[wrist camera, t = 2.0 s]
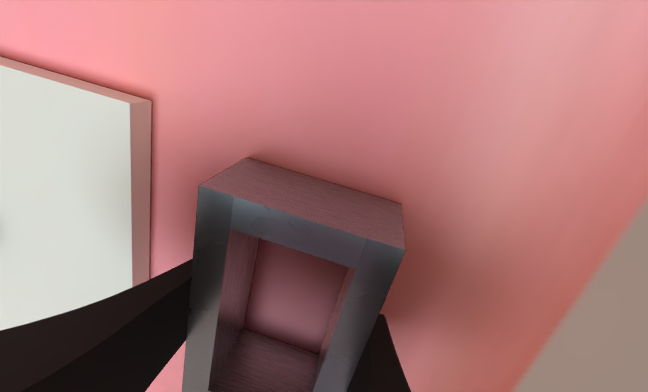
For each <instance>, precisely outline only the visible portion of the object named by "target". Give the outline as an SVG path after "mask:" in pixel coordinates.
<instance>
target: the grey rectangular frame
mask: <svg viewBox="0 0 648 392" xmlns="http://www.w3.org/2000/svg"><path fill="white" fill-rule="evenodd" d="M259 239H263V240H266V241H269V242H272V243H276V244H279V245H282V246H285V247H288V248H291V249H294V250H297V251H300V252H303V253H306V254H310V255H313V256H316V257H319V258H322V259H325V260H328V261H331V262H334V263H337V264H340V265H344V266H347V267H348V269H347V272H346V275H345V278H344V281H343V284H342V287H341V290H340V293H339V296H338V299H337V302H336V305H335V308H334V311H333V314H332V317H331V320H330V323H329V326H328V329H327V331H326V334H325V337H324V340H323V343H322V346H321V349H320V352H319V355H317V354H314V353H312V352H309V351H306V350H303V349H300V348H297V347H295V346H292V345H289V344H286V343H283V342H280V341H277V340H275V339H272V338H269V337H266V336H263V335H260V334H257V333H255V332H252V331H249V330H246V329H243V326H244V321H245V315H246V310H247V304H248V299H249V293H250V288H251V283H252V277H253V272H254V266H255V261H256V255H257V250H258V245H259ZM405 251H406V248H405V238H404V228H403V218H402V208H401V204H400V203H397V202H393V201H390V200H387V199H383V198H380V197H377V196H373V195H370V194H367V193H363V192H360V191H357V190H353V189H350V188H347V187H343V186H340V185H337V184H334V183H330V182H327V181H324V180H320V179H317V178H314V177H310V176H307V175H304V174H300V173H297V172H294V171H290V170H287V169H284V168H280V167H277V166H274V165H270V164H267V163H264V162H261V161H257V160H254V159H251V158H247V157H246V158H244V159H243V160H241V161H239V162H238V163H236V164H234V165H233V166H231V167H229V168H227V169H226V170H224V171H222V172H221V173H219V174H217V175H216V176H214V177H212V178H211V179H209V180H207V181H206V182H204V183H202V184H200V185H199V191H198V203H197V215H196V227H195V239H194V251H193V263H192V276H191V288H190V300H189V312H188V324H187V336H186V348H185V360H184V372H183V384H182V392H346V391H347V389H348V387H349V384H350V382H351V379H352V377H353V375H354V372H355V370H356V367H357V365H358V363H359V360H360V358H361V356H362V353H363V351H364V348H365V346H366V344H367V341H368V339H369V336H370V334H371V332H372V329H373V327H374V325H375V322H376V320H377V317H378V315H379V313H380V310H381V308H382V305H383V303H384V301H385V298H386V296H387V294H388V291H389V289H390V286H391V284H392V282H393V279H394V277H395V275H396V272H397V270H398V267H399V265H400V263H401V260H402V258H403V255H404V253H405Z"/></svg>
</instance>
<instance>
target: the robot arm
mask: <svg viewBox="0 0 648 392" xmlns="http://www.w3.org/2000/svg"><path fill="white" fill-rule="evenodd" d="M192 263H193V259H191V260H189V261H187V262H185V263H183V264H181V265H179V266H177V267H175V268H173V269H171V270H169V271H167V272H165V273H163V274H160V275H158V276H156V277H154V278H152V279H150V280H148V281H146V282H144V283H141V284H139V285H137V286H134V287H132V288H130V289H127V290H125V291H123V292H120V293H118V294H115V295H113V296H111V297H108V298H105V299H103V300H100V301H97V302H95V303H92V304H89V305H86V306H83V307H80V308H77V309H75V310H71V311H68V312H65V313H62V314H58V315H55V316H52V317H48V318H45V319H41V320H38V321H35V322H31V323H28V324H24V325H20V326H16V327H12V328H8V329H4V330H0V392H145V391H146V390H147V388H148V387H149V386H150V384H151V383H152V382H153V380H154V379H155V378H156V377H157V375H158V374H159V373H160V372H161V370H162V369H163V368H164V367H165V365H166V364H167V363H168V362H169V360H170V359H171V358H172V357H173V355H174V354H175V353H176V352H177V350H178V349H179V348H180V347H181V345H182V344H183V343H184V342H185V340H186V336H187V324H188V312H189V300H190V288H191V276H192ZM346 392H411V390H410V388H409V385H408V383H407V380H406V378H405V375H404V373H403V370H402V367H401V365H400V362H399V359H398V356H397V353H396V350H395V347H394V344H393V341H392V338H391V335H390V331H389V328H388V324H387V321H386V318H385V316H384V315H382V314H379V315H378V317H377V320H376V322H375V325H374V327H373V329H372V332H371V334H370V336H369V339H368V341H367V344H366V346H365V348H364V351H363V353H362V356H361V358H360V360H359V363H358V365H357V367H356V370H355V372H354V375H353V377H352V379H351V382H350V384H349V387H348V389H347V391H346Z"/></svg>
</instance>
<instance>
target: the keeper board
mask: <svg viewBox="0 0 648 392" xmlns="http://www.w3.org/2000/svg"><path fill="white" fill-rule="evenodd" d="M151 106H152V101H150V100H147V99H143V98H140V97H137V96H133V95H130V94H126V93H123V92H120V91H116V90H113V89H109V88H106V87H103V86H99V85H96V84H92V83H89V82H86V81H82V80H79V79H75V78H72V77H69V76H65V75H62V74H58V73H55V72H51V71H48V70H45V69H41V68H38V67H34V66H31V65H28V64H24V63H21V62H17V61H14V60H11V59H7V58H4V57H0V330H4V329H8V328H12V327H16V326H20V325H24V324H28V323H31V322H35V321H38V320H41V319H45V318H48V317H52V316H55V315H58V314H62V313H65V312H68V311H71V310H75V309H77V308H80V307H83V306H86V305H89V304H92V303H95V302H97V301H100V300H103V299H105V298H108V297H111V296H113V295H115V294H118V293H120V292H123V291H125V290H127V289H130V288H132V287H134V286H137V285H139V284H141V283H144V282H146V281H148V280H149V256H150V181H151Z"/></svg>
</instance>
